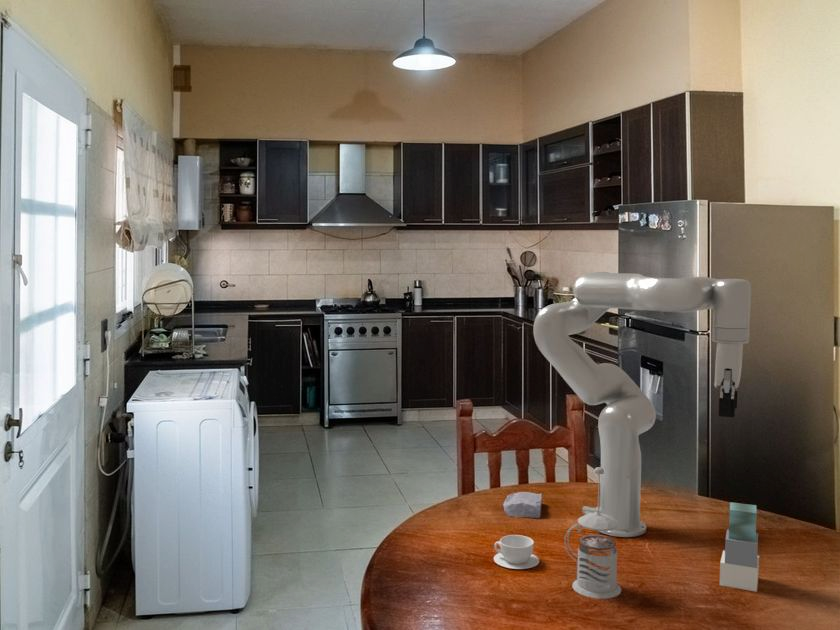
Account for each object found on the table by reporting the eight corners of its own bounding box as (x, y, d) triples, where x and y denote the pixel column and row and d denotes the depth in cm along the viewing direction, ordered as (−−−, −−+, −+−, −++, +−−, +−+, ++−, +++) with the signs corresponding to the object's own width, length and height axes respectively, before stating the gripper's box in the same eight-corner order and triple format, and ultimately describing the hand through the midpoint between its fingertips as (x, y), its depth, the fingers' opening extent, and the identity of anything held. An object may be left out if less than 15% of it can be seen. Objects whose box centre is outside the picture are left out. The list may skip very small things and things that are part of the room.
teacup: (543, 556, 174) (544, 536, 173) (533, 574, 164) (533, 552, 164) (500, 550, 177) (500, 530, 177) (487, 567, 168) (488, 546, 168)
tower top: (724, 563, 158) (725, 539, 157) (726, 552, 163) (726, 529, 163) (756, 568, 155) (757, 544, 155) (757, 557, 161) (758, 533, 160)
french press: (612, 603, 151) (615, 477, 148) (556, 589, 157) (558, 468, 155) (628, 584, 159) (630, 464, 157) (573, 571, 165) (576, 456, 163)
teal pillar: (728, 538, 158) (729, 509, 157) (729, 530, 162) (730, 502, 162) (755, 542, 156) (756, 513, 155) (755, 533, 160) (756, 505, 160)
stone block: (504, 524, 198) (543, 519, 196) (501, 506, 198) (540, 500, 196) (507, 510, 210) (544, 505, 208) (504, 493, 210) (541, 487, 208)
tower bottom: (719, 586, 159) (720, 562, 158) (722, 573, 165) (723, 550, 164) (756, 592, 156) (757, 568, 155) (758, 579, 162) (759, 556, 161)
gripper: (715, 330, 179) (712, 403, 181) (709, 338, 164) (706, 418, 165) (750, 331, 176) (747, 406, 178) (747, 340, 161) (744, 422, 162)
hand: (727, 412), depth 172 cm, fingers open, 9 cm apart
